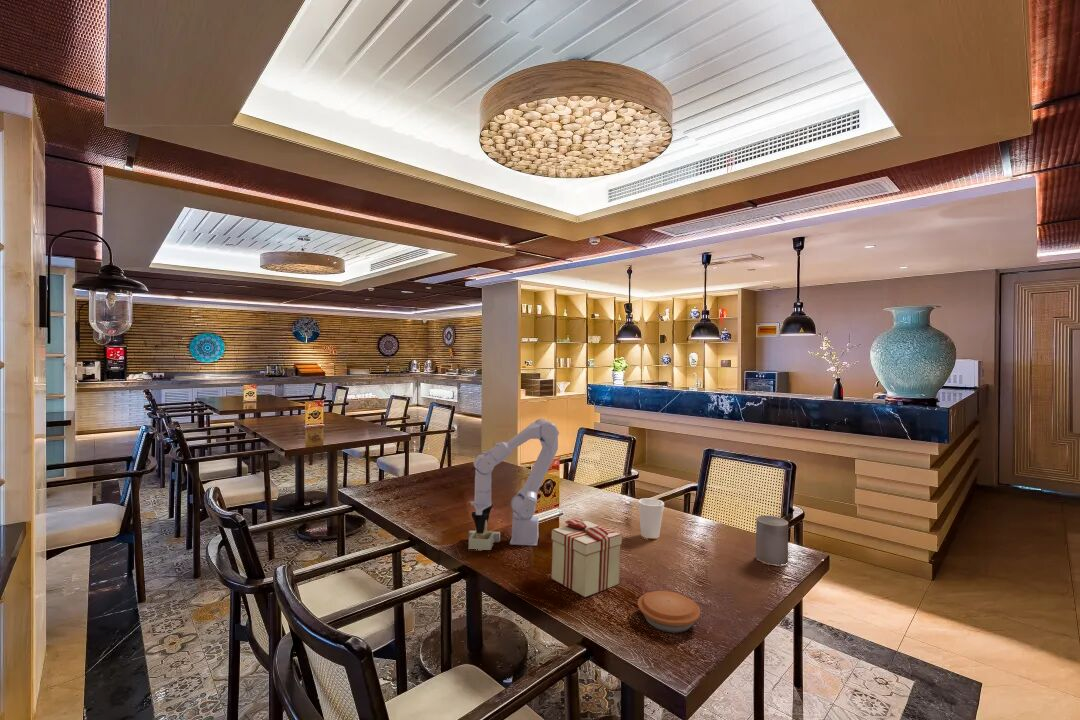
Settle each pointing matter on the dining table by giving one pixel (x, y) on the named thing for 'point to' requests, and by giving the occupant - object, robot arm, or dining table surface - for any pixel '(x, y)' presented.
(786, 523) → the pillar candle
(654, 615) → the pie
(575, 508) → the dining table surface
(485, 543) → the socket block
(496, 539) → the rail
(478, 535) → the dowel
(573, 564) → the gift box
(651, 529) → the foam cup
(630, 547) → the dining table surface
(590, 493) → the dining table surface
